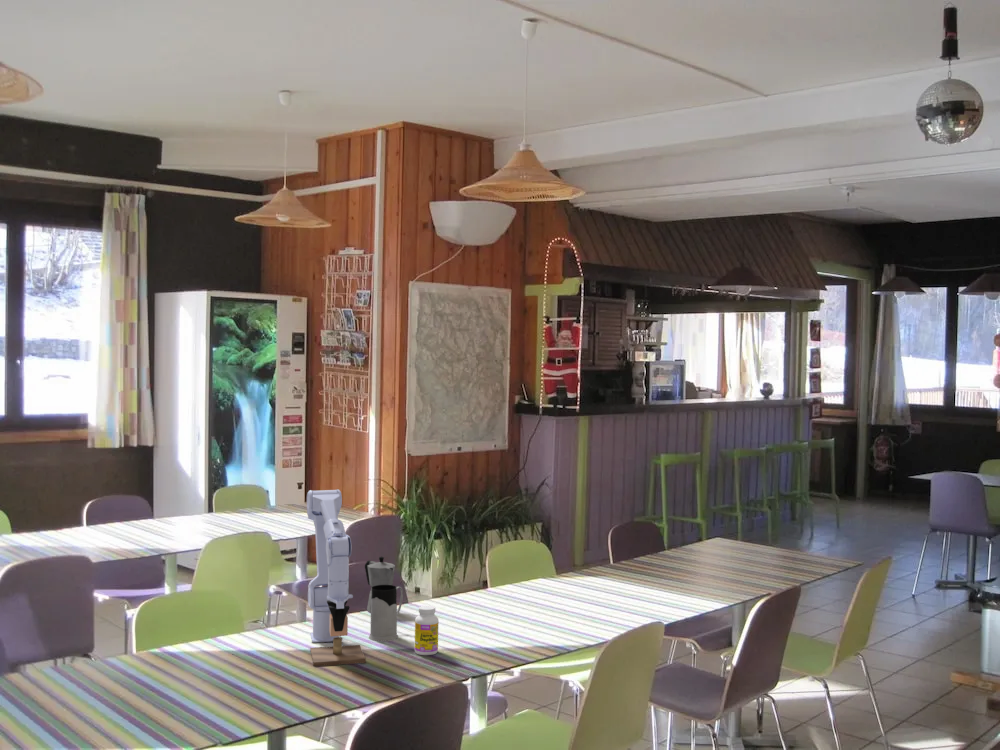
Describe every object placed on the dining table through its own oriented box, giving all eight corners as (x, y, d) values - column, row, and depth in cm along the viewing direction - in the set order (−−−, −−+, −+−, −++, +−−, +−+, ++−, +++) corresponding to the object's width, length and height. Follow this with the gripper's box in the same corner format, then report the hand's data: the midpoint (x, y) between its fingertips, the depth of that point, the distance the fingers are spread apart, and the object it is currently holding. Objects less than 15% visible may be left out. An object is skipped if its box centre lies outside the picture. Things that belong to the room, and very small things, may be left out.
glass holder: (362, 638, 289) (363, 588, 288) (389, 627, 301) (390, 579, 301) (387, 643, 284) (387, 592, 284) (413, 631, 297) (414, 582, 297)
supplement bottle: (416, 656, 271) (417, 611, 271) (412, 650, 278) (413, 605, 278) (440, 655, 273) (440, 609, 273) (435, 648, 279) (436, 604, 279)
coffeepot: (404, 612, 321) (404, 557, 321) (381, 616, 314) (382, 561, 314) (376, 603, 332) (377, 551, 332) (353, 607, 325) (354, 554, 325)
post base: (310, 651, 275) (310, 633, 275) (359, 648, 279) (360, 630, 279) (313, 666, 262) (313, 646, 262) (365, 662, 265) (365, 643, 265)
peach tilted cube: (329, 631, 272) (329, 614, 272) (345, 631, 273) (346, 613, 273) (330, 636, 267) (330, 618, 267) (347, 635, 268) (347, 617, 268)
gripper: (355, 584, 264) (354, 634, 264) (350, 573, 278) (349, 621, 278) (329, 586, 262) (328, 636, 262) (325, 574, 276) (324, 622, 276)
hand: (337, 628), depth 270 cm, fingers closed on peach tilted cube, 5 cm apart
